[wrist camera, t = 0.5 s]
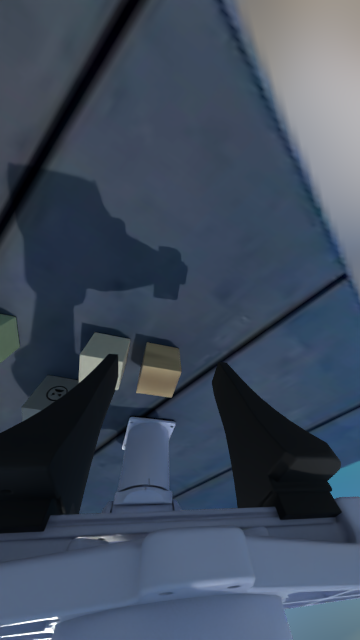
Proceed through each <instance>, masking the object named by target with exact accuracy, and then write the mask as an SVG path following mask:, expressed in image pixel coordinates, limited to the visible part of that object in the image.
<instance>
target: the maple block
mask: <svg viewBox="0 0 360 640" xmlns="http://www.w3.org/2000/svg"><path fill="white" fill-rule="evenodd" d="M180 374H181V363H180V353H179V348H174V347H169V346H164V345H158V344H153V343H148V342H147V344H146V348H145V352H144V356H143V360H142V364H141V368H140V374H139V379H138V385H137V391H136V393H142V394H149V395H157V396H164V397H172V395H173V393H174V390H175V387H176V385H177V382H178V380H179V377H180Z"/></svg>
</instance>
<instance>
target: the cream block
mask: <svg viewBox="0 0 360 640" xmlns="http://www.w3.org/2000/svg"><path fill="white" fill-rule="evenodd" d="M129 345H130V339H127V338H122V337H117V336H112V335H106V334H101V333H96V332H95V333H94V334H93V336H92V337H91V339H90V340H89V342H88V343H87V345H86V346H85V348H84V349H83V351H82V352H81V354H80V360H79V382H81V381H82V380H83V379H84V378H85V377H86V376H87V375H88V374H89V373H91V372H92V371H93V370H94V369H95V368H96V367H97V366H98V365H99V364H100V363H101V361H102V360H103V359H104V358H105V357H106V356H107V355H108V354H118V380H117V384H116V388H115V390H118V389H119V385H120V382H121V379H122V375H123V372H124V368H125V365H126V360H127V355H128V350H129ZM79 382H78V383H79Z"/></svg>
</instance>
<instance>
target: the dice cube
mask: <svg viewBox="0 0 360 640" xmlns="http://www.w3.org/2000/svg"><path fill="white" fill-rule="evenodd" d="M78 382H79V380H73V379H68V378H62V377H57V376H51V375H47V376H46V377H45V379H44V380H43V381H42V382H41V384H40V385H39V386H38V387H37V389H36V390H35V391H34V392H33V394H32V395H31V396H30V397H29V399H28V400H27V401H26V402H25V404H24V405H23V406H22V407H21V408H22V421H24V420H26V419H28V418H30V417H31V416H33V415H35V414H36V413H38V412H40V411H41V410H43V409H44V408H46V407H47V406H49V405H50V404H52V403H53V402H55V401H56V400H58V399H59V398H61V397H62V396H63V395H65V394H66V393H67V392H69V391H70V390H71V389H72V388H74V387H75V386H76V385H77V384H78Z"/></svg>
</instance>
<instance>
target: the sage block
mask: <svg viewBox="0 0 360 640" xmlns="http://www.w3.org/2000/svg"><path fill="white" fill-rule="evenodd" d="M19 347H20V344H19V337H18V329H17V322H16V317H14V316H8V315H3V314H0V363H1V362H2V361H3V360H5V359H6V358H7V357H8V356H10V355H11V354H12V353H13V352H14V351H16V350H17V349H18V348H19Z"/></svg>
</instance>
